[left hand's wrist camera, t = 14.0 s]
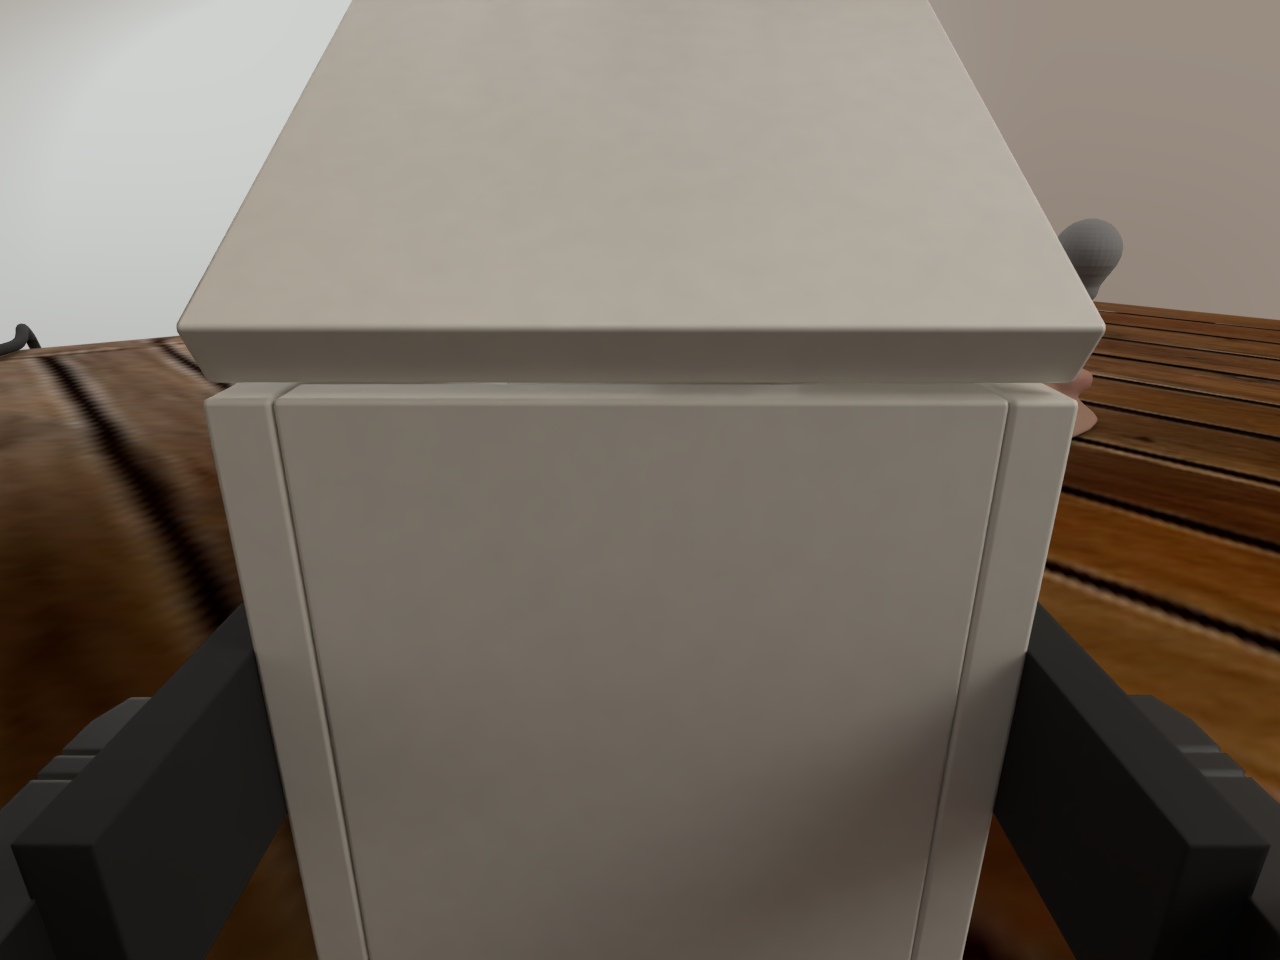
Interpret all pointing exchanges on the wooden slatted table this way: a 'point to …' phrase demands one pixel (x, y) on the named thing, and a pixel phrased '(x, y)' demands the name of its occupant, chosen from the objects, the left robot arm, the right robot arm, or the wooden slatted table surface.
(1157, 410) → the wooden slatted table surface
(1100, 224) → the light bulb
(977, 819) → the chest
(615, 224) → the lid
